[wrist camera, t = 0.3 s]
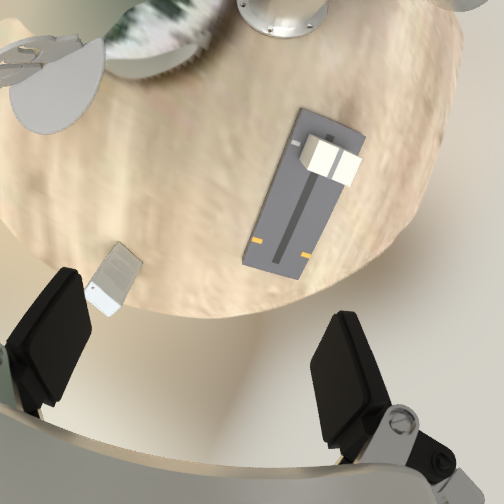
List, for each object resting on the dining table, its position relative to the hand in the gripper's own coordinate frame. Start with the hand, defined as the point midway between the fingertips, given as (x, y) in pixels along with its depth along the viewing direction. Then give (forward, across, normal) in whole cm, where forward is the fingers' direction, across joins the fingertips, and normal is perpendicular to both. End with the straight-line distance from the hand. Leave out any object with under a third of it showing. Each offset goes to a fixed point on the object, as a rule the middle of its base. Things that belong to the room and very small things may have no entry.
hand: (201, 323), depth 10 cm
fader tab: (+32, -12, -2) cm, 35 cm away
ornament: (+35, +32, -7) cm, 48 cm away
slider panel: (+35, -11, +6) cm, 37 cm away
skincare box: (+35, +17, +22) cm, 45 cm away
